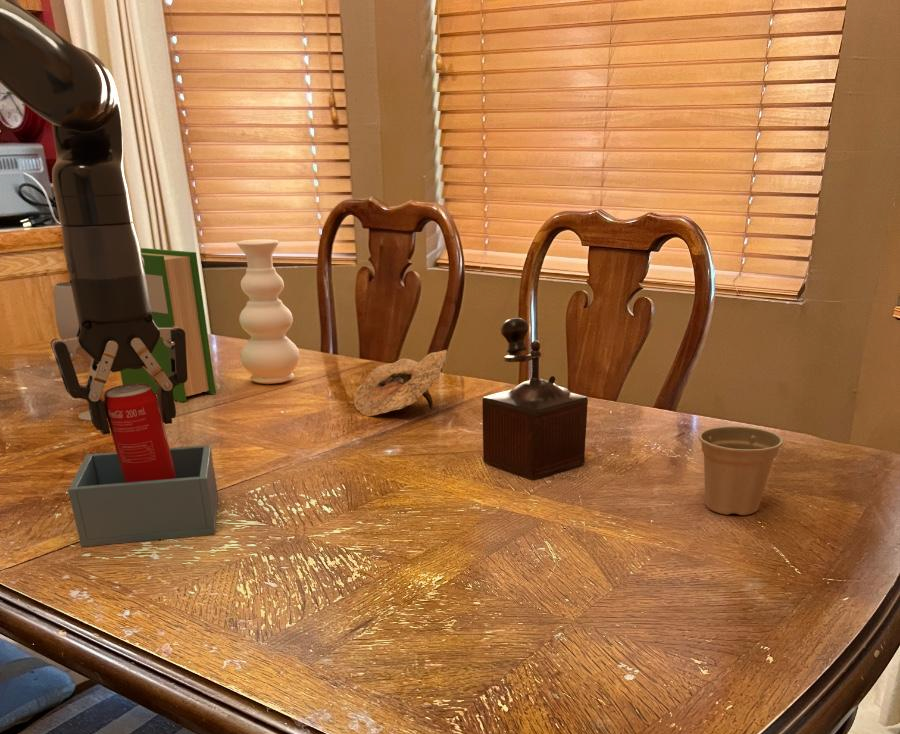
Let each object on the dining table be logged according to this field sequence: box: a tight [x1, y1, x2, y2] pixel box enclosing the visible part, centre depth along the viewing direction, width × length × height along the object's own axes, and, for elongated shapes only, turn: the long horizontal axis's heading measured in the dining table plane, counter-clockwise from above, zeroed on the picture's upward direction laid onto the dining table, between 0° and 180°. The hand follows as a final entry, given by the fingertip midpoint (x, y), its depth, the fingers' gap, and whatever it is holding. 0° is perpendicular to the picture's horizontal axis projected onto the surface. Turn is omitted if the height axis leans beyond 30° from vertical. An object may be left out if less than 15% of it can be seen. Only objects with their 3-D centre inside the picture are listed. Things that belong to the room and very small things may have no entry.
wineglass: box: [53, 281, 93, 422], centre depth 140 cm, size 8×8×21 cm
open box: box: [67, 444, 219, 548], centre depth 101 cm, size 15×13×7 cm
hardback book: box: [119, 247, 217, 403], centre depth 153 cm, size 18×7×24 cm, turn 53°
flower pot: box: [698, 425, 784, 516], centre depth 101 cm, size 9×9×9 cm
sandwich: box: [352, 349, 448, 417], centre depth 145 cm, size 18×14×8 cm
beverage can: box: [103, 383, 177, 483], centre depth 99 cm, size 6×6×15 cm
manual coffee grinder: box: [481, 317, 589, 481], centre depth 117 cm, size 16×11×18 cm
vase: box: [236, 238, 300, 385], centre depth 159 cm, size 11×11×25 cm
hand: (136, 427), depth 97 cm, fingers open, 6 cm apart
